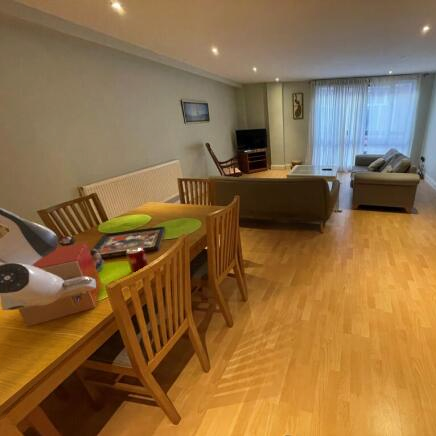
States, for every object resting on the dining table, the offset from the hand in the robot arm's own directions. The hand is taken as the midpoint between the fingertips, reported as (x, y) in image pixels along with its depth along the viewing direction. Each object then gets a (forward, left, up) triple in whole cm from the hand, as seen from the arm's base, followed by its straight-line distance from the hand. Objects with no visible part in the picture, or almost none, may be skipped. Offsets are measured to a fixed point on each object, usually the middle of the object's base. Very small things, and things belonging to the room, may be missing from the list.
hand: (64, 295), depth 81 cm
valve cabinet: (-6, +18, -14) cm, 23 cm away
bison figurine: (-1, +40, -14) cm, 42 cm away
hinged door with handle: (-6, +6, -14) cm, 16 cm away
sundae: (-13, +61, -14) cm, 64 cm away
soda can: (+19, +29, -14) cm, 37 cm away
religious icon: (+13, +65, -14) cm, 67 cm away
